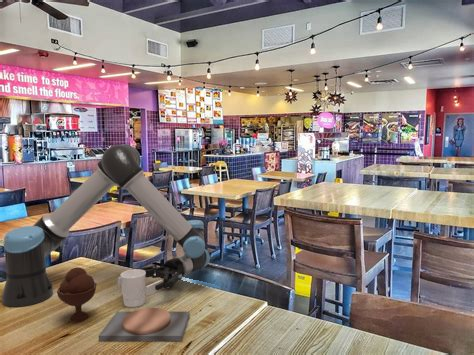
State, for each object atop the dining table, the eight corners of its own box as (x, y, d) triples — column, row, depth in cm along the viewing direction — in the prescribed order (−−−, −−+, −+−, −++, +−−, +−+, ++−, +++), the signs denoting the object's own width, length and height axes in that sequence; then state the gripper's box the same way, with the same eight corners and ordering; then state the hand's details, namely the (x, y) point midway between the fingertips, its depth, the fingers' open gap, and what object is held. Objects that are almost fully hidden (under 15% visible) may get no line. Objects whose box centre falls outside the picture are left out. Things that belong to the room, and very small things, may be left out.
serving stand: (98, 341, 98) (98, 330, 98) (117, 316, 112) (116, 306, 112) (181, 341, 98) (181, 330, 98) (189, 316, 112) (189, 306, 112)
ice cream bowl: (50, 323, 108) (47, 273, 107) (78, 307, 119) (76, 261, 117) (79, 329, 105) (76, 277, 103) (105, 312, 115) (103, 265, 114)
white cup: (140, 309, 117) (138, 278, 116) (117, 307, 118) (115, 277, 117) (150, 298, 125) (149, 269, 124) (129, 297, 126) (127, 268, 125)
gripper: (203, 284, 131) (159, 306, 114) (154, 270, 145) (108, 289, 128) (203, 263, 130) (159, 283, 113) (153, 252, 144) (107, 267, 127)
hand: (132, 286), depth 120 cm, fingers open, 13 cm apart
